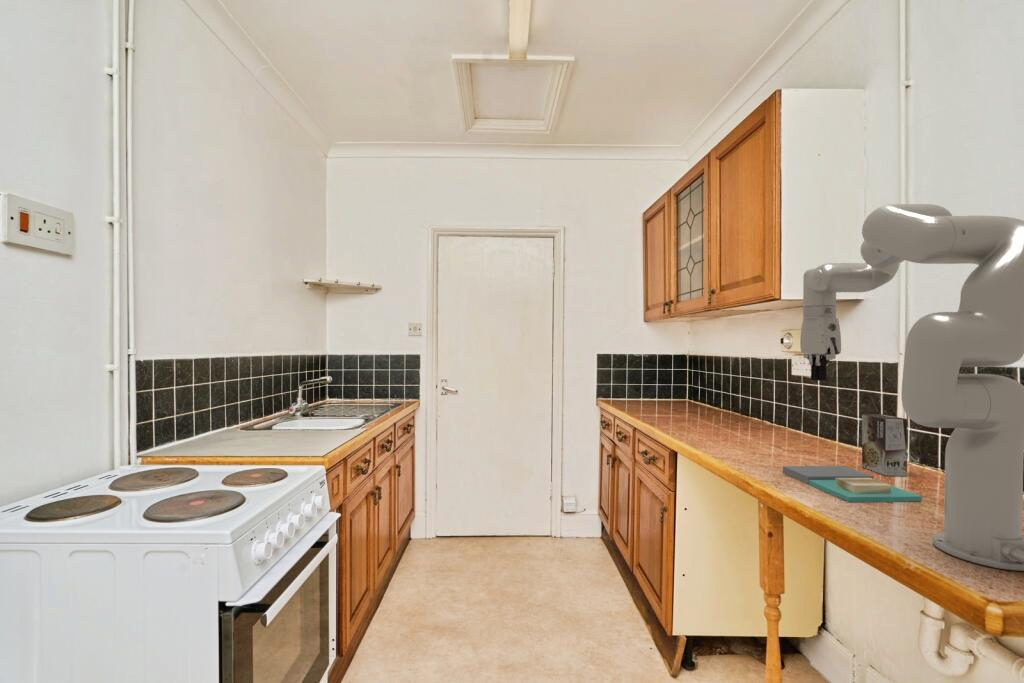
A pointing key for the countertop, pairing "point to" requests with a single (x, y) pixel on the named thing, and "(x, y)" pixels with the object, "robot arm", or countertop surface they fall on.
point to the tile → (863, 486)
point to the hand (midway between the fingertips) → (818, 380)
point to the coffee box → (884, 444)
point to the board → (822, 473)
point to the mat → (895, 495)
